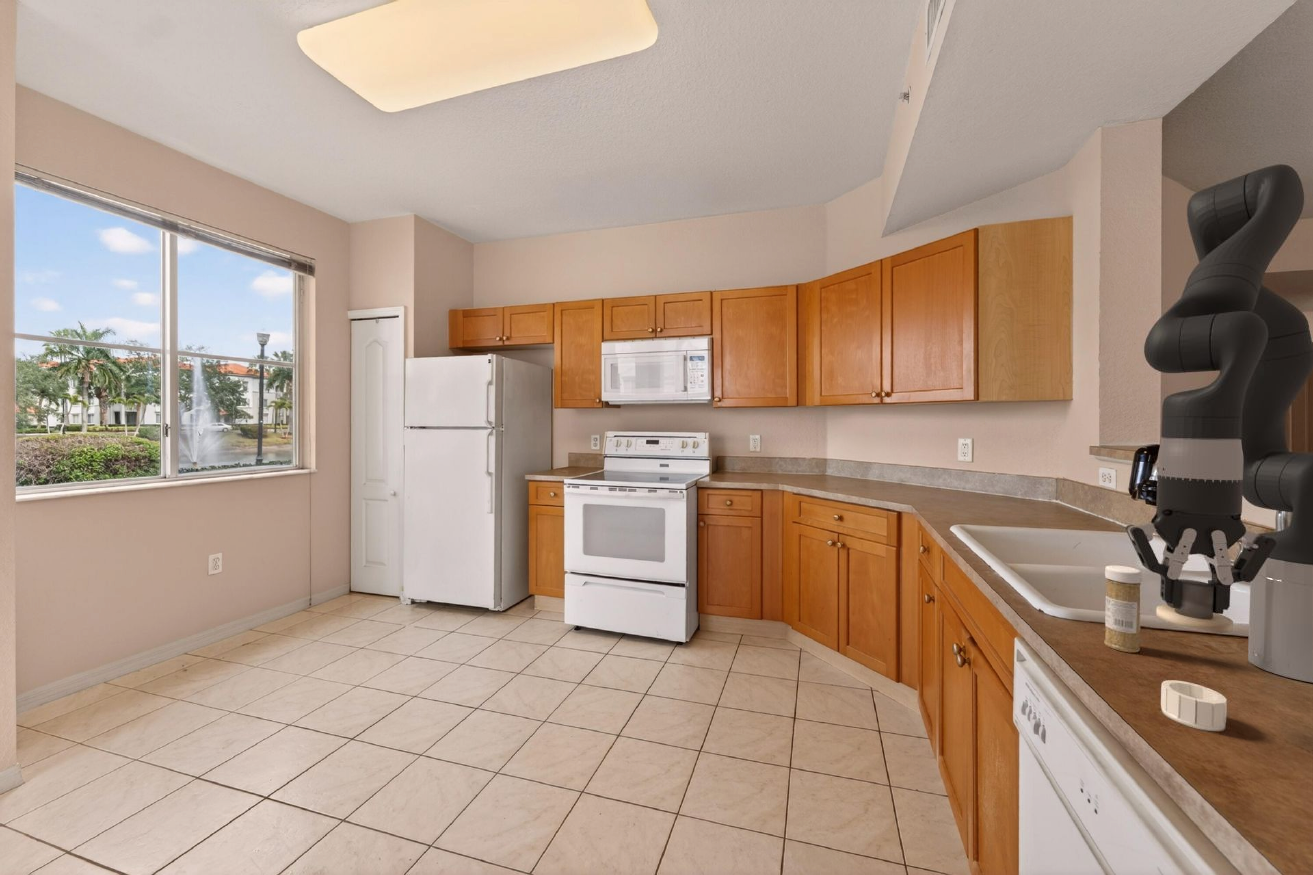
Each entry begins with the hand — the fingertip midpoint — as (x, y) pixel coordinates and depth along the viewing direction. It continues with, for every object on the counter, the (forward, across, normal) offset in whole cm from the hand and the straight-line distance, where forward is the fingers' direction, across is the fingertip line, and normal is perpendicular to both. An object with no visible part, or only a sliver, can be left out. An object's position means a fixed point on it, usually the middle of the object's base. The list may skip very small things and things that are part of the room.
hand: (1194, 608), depth 67 cm
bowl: (+14, 0, 0) cm, 14 cm away
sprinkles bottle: (+14, -1, +23) cm, 27 cm away
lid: (+2, 0, 0) cm, 2 cm away
